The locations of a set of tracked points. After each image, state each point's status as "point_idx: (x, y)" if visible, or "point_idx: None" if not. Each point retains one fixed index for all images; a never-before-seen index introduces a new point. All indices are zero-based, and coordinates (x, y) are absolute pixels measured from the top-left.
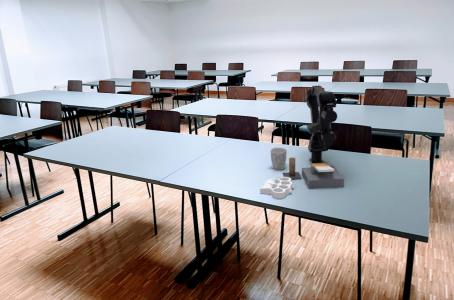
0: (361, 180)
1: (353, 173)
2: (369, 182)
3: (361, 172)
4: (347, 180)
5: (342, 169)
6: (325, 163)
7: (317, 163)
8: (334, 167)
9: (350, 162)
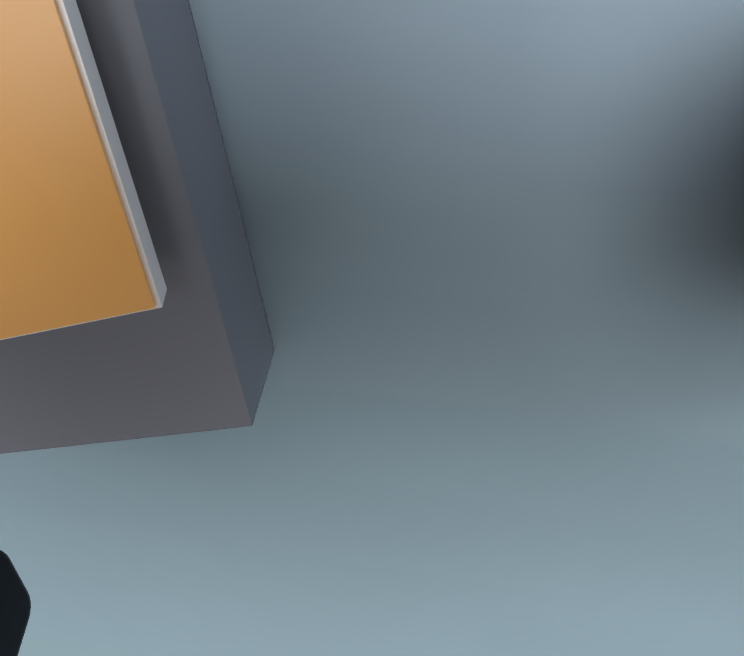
0: (81, 601)
1: (292, 569)
2: (43, 651)
3: (329, 640)
4: (42, 477)
5: (435, 481)
6: (91, 316)
7: (87, 122)
8: (175, 428)
9: (684, 600)
